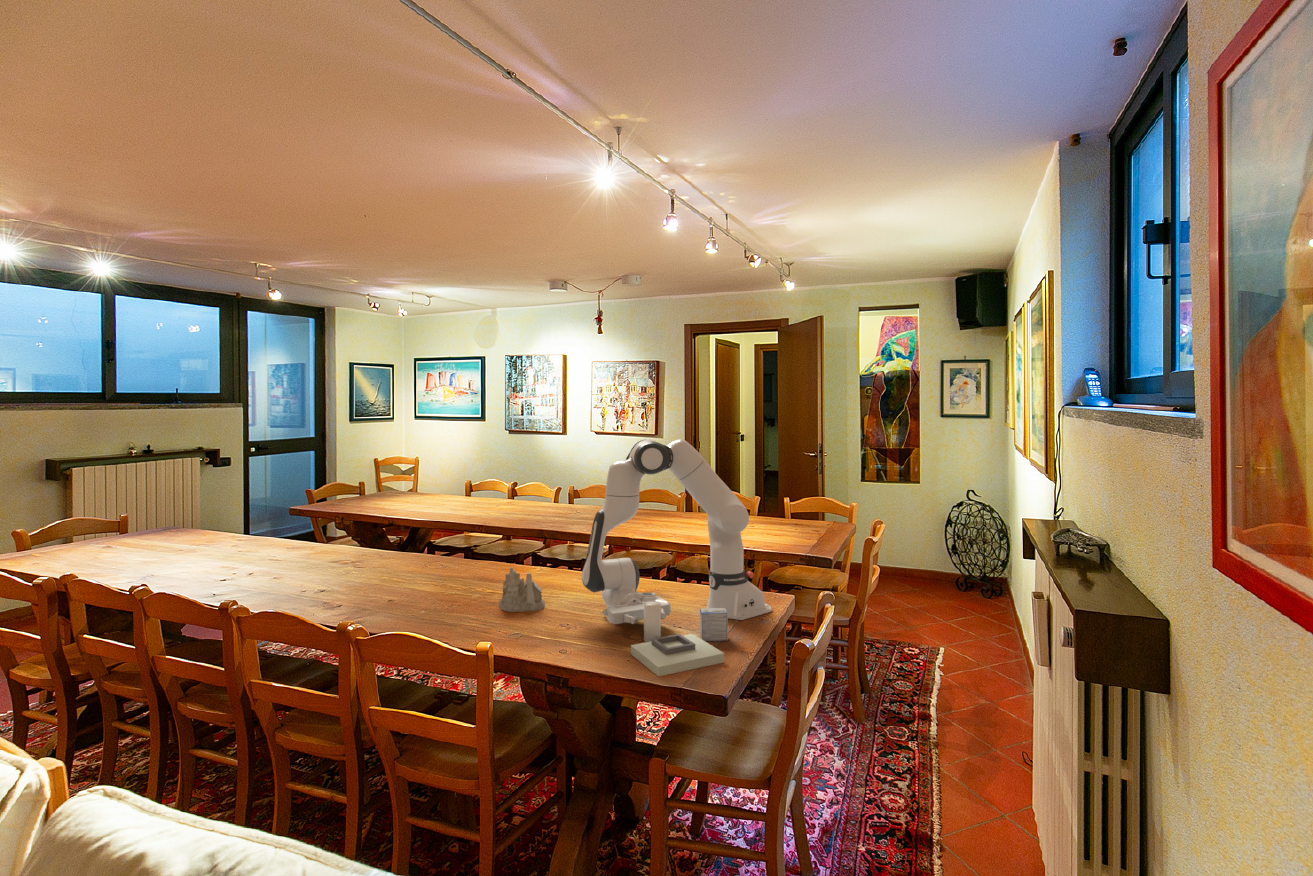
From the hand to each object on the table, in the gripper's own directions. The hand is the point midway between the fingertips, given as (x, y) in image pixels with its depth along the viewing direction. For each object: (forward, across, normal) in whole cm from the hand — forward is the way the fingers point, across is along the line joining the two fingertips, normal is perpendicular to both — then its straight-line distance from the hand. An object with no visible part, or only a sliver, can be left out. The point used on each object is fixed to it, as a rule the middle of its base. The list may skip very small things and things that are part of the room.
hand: (649, 618), depth 193 cm
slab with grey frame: (+17, 0, +6) cm, 18 cm away
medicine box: (+9, +17, +6) cm, 20 cm away
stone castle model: (-50, -25, +6) cm, 56 cm away
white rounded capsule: (+2, 0, +6) cm, 6 cm away
